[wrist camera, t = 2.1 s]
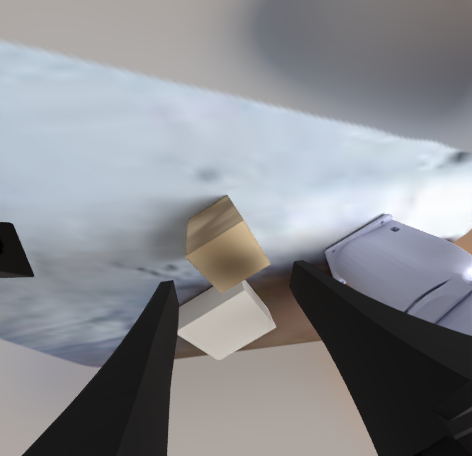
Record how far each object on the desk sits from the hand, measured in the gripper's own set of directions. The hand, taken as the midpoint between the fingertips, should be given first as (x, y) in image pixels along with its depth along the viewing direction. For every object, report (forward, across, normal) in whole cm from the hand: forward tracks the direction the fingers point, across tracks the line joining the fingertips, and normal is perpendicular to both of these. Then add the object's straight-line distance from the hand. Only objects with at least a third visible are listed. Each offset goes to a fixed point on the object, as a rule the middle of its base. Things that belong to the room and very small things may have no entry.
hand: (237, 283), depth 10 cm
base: (+8, 0, +13) cm, 15 cm away
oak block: (+8, 0, 0) cm, 8 cm away
